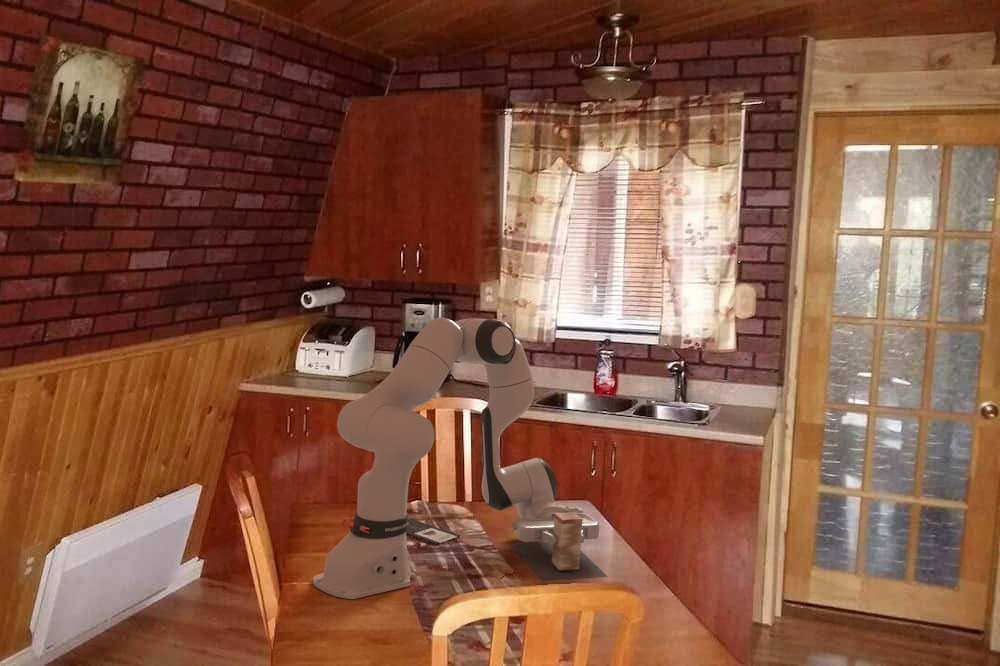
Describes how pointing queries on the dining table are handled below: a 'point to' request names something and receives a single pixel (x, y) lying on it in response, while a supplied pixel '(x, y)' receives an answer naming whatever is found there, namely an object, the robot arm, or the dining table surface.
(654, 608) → the dining table surface
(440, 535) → the chocolate bar
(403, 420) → the robot arm
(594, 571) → the rubber mat
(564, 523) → the ash block
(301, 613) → the dining table surface
